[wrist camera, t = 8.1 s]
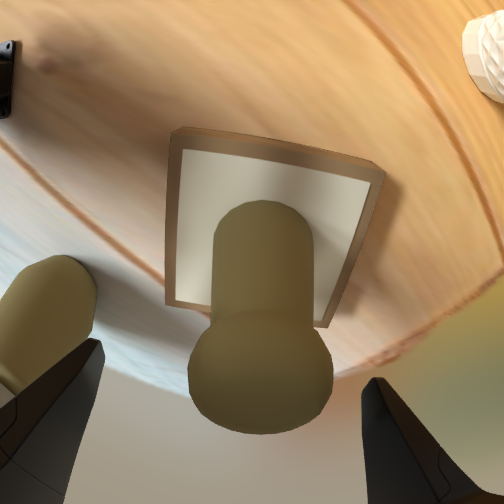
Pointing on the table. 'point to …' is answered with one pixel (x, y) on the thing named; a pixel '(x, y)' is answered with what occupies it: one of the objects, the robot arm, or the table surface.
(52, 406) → the robot arm
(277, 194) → the walnut picture frame
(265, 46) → the table surface
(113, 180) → the table surface
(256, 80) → the table surface
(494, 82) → the white cup
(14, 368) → the squeeze bottle
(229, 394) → the cork
